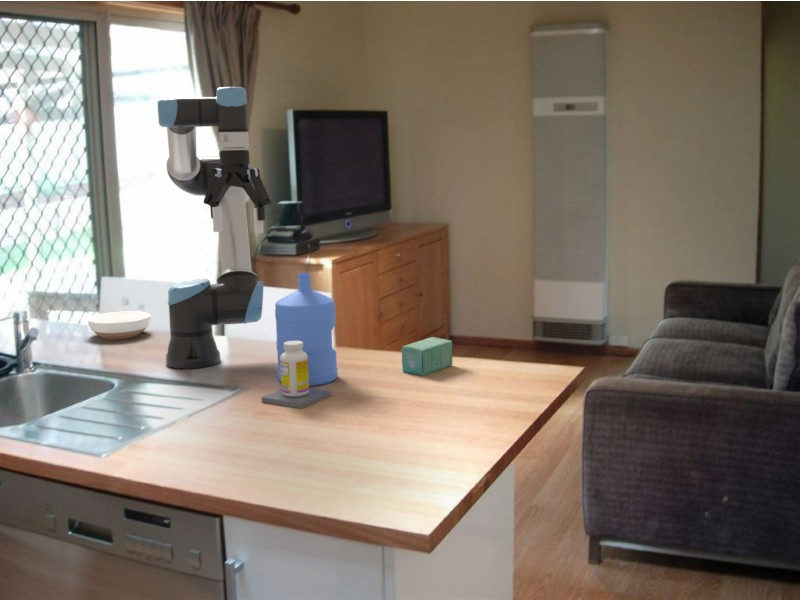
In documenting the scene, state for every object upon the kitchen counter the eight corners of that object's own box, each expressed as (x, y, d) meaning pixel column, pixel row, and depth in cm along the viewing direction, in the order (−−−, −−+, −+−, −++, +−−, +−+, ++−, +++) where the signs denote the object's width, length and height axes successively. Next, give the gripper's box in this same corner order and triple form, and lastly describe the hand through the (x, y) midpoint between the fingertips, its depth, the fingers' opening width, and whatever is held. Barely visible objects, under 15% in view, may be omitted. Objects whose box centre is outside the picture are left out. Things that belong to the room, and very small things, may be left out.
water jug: (305, 390, 227) (301, 281, 222) (265, 380, 238) (260, 275, 233) (350, 377, 239) (346, 273, 234) (310, 368, 249) (306, 267, 244)
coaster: (261, 401, 219) (261, 397, 218) (291, 389, 229) (291, 384, 229) (301, 408, 213) (301, 403, 213) (330, 395, 223) (330, 390, 223)
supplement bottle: (311, 390, 224) (309, 339, 221) (306, 397, 217) (304, 345, 215) (285, 390, 224) (282, 339, 222) (279, 397, 218) (276, 345, 215)
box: (401, 372, 244) (400, 345, 242) (431, 362, 254) (431, 336, 252) (422, 376, 239) (422, 349, 238) (453, 366, 249) (453, 340, 248)
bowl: (77, 341, 288) (76, 322, 287) (107, 328, 307) (105, 310, 306) (135, 342, 285) (134, 323, 283) (161, 329, 304) (160, 311, 302)
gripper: (187, 150, 233) (191, 232, 237) (263, 149, 221) (267, 235, 225) (206, 149, 240) (211, 229, 243) (282, 148, 227) (285, 232, 231)
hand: (238, 232), depth 234 cm, fingers open, 13 cm apart
